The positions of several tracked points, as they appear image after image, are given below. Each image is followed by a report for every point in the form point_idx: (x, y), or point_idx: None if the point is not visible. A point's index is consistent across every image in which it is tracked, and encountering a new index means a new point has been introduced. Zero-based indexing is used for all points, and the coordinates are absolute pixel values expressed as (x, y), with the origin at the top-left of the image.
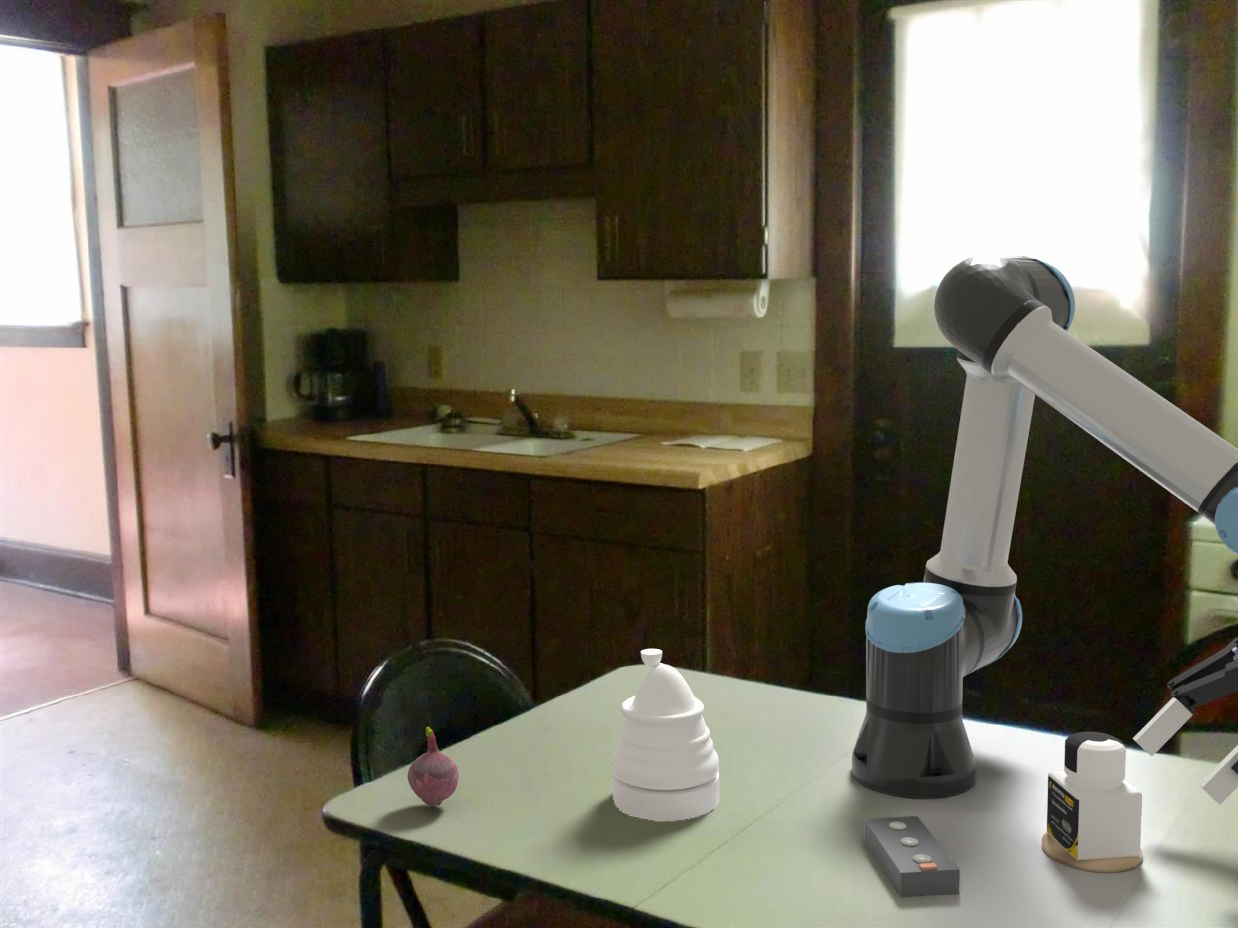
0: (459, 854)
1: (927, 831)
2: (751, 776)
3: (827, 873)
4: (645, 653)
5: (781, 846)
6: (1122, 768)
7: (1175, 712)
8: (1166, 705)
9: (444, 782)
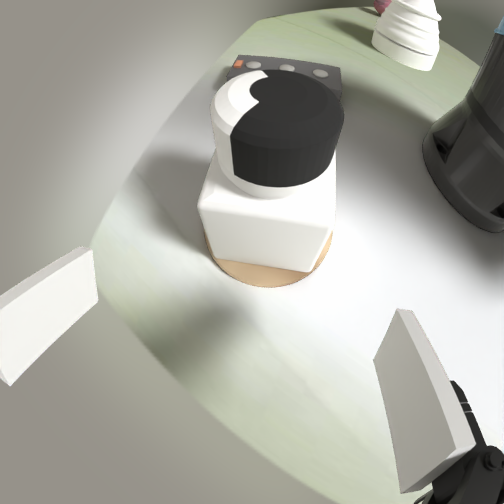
0: (336, 8)
1: None
2: (444, 91)
3: (286, 56)
4: None
5: (332, 55)
6: (219, 152)
7: (424, 436)
8: (457, 410)
9: (376, 3)
